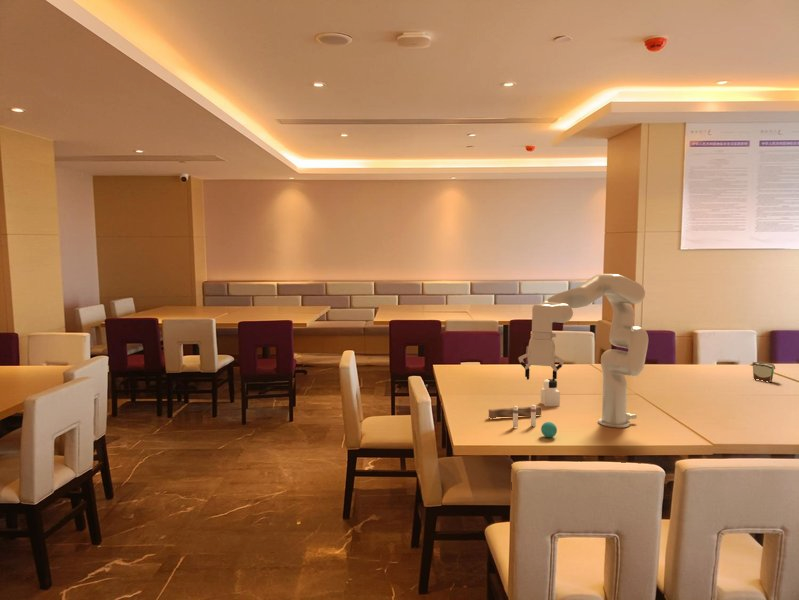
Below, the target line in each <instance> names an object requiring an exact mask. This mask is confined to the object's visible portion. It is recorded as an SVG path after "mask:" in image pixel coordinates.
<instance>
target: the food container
mask: <svg viewBox="0 0 799 600" xmlns="http://www.w3.org/2000/svg"><path fill="white" fill-rule="evenodd" d="M751 366H752V372H753V373H752V375H753V376H752V377H753V378H754V379H759V380H763V381H768V382H772V383H773V378H774V377H773V376H774V370H776V365H775V364H773V363H770V362H763V361H752V363H751ZM754 379H753V380H754Z"/></svg>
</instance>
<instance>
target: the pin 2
mask: <svg viewBox="0 0 799 600" xmlns="http://www.w3.org/2000/svg"><path fill="white" fill-rule="evenodd" d="M536 406H537V405H536V404H531V405H530V407H531V417H530V427H531V426H533V427H532V428H536V427H537V424H536V423H537V422H536V421H537V416H536ZM535 426H536V427H535Z"/></svg>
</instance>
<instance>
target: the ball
mask: <svg viewBox="0 0 799 600" xmlns="http://www.w3.org/2000/svg"><path fill="white" fill-rule="evenodd" d="M540 431H541V434H542V435H543V436H544V437H545V438H554V437H555V436H556V434H557V431H558V429H557V426H556V424H555V423H554V422H551V421H545V422H544V423H542V425H541V427H540Z"/></svg>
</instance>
